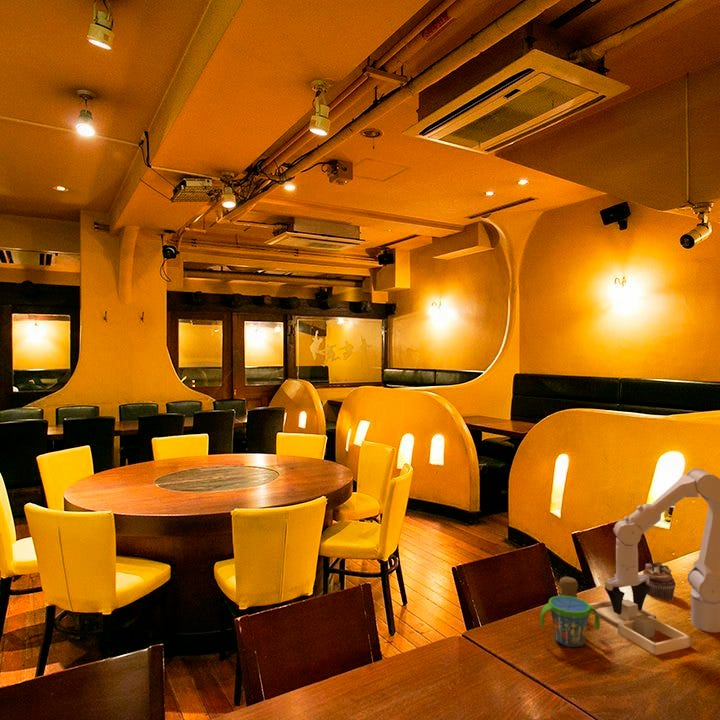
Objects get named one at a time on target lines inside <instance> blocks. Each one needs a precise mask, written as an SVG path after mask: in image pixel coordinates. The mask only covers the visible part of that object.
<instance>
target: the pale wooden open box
mask: <svg viewBox="0 0 720 720" xmlns="http://www.w3.org/2000/svg"><path fill="white" fill-rule="evenodd" d="M649 618H651V619H653V620H655V631H658V632H660V633H661V634H663V635H665V636H667V637H668V638H669V639H666V640H662V641H659V642H657V641H656V642H654V641H652V640H650V639H649V638H645V637H643V636H642V635H640V634H638V633H636V632H635V631H634V621H633V620H632V621H628V622H623V623H618V628H617V634H619V635H621V636H622V637H624V638H626V639H627V640H629V641H631V642H632V643H634V644H635V645H637V646H639V647H640V648H642V649H644V650H645V651H647V652H649V653H650V654H652V655H653V656H659V655H663V654H666V653H670V652H675V651H679V650H683V649H686V648H687V649H688V648H690V647H692V646H691V645H692V642H691V636H690V635H688V634H686V633H684V632H682V631H680V630H679V629H676V628H674V627H672V626H671V625H670V624H667V623H665V622H664V621H661V620H659V619H657V618H656V619H655V618H654V617H652V616H651V617H649ZM670 638H671V639H670Z"/></svg>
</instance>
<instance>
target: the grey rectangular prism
mask: <svg viewBox="0 0 720 720" xmlns="http://www.w3.org/2000/svg"><path fill="white" fill-rule="evenodd" d="M633 621H634V631H635V632H636V633H638V634H640V635H642V636H643V637H645V638H647V639H649V638H654V637H656V629H655V620H653V619H651V618H649V617H648V616H646V615H644V614H643V615H638V616H634V617H633Z"/></svg>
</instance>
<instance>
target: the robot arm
mask: <svg viewBox="0 0 720 720" xmlns="http://www.w3.org/2000/svg"><path fill="white" fill-rule="evenodd" d="M699 495H700V496H701V498H702V499H703V500H704V501H705V503H707V504H708V509H707V514H706V515H707V516H706V518H705V519H706V520H705V524H704V529H703V534H702V540H701V543H700V545H701V546H700V548H699V549H700V551H699V556H698V559H697V560H695V561H694V562H693V567H692V568H691V569H690V570H689V572H688V574H687V582H688V583H689V585H690V587H691V591H690V613H691V615H690V618H691V625H692V626H693V627H694V628H695V629H698V630H700V631H703V632H707V633H720V478H719V477H718V476H717V475H715V474H711V473H709V472H707V471H706V470H704V469H702V468H693V469H690V470H689V471H687V472H686V474H683V475H681V476H680V477H679V479H678V480H677V481H676V482H675V483H674V484H672V485H671V486H670V488H668V489H667V490H666V491H665V492H664V493H663V494H661V495H660V496H659V497H657V499H656V500H654V502H652V503H644V504H642V505H641V504H639V505H637V506H636V509H635V510H634V512H632V513H631V514H630V515H629V516H625V517H623V520H622V519H620V520H618V521H617V522H615V524H614V527H613V529H612V531H613V534H614V535H615V536H616V538H615V539H616V540H615V571H616V573H614V577H612V578H610V579H608V580H604V590H605V591H606V594H607V595H608V598H609V600H611V603H612V607H613V611H614V612H615V613H617V614H619V615H620V614H621V612H622V600H623V599H624V596H625V594H626V593H625V592H623V591H621V589H620V588H624V587H630V588H631V592H632V602H633V603H635V604H637V605H638V610H642V609H643V606H644V602H645V599H646V597H647V595H649V594H648V592H649V591H650V586H648V585H646V584H648V583H649V577H648V576H646V575H644V574H643V573H642V574H639V549H638V543H640V540H641V539H642V535H643V534H645V533H646V532H647V531H648V530H650V529H651V528H653V527H654V526H655V525H656V524H658V523H659V522H660V521H661V520H662V518H661V517H662V514H663V513H664V512H666V511H667V510H669V509H670V508H672V507H673V506H675V505H676V504H677V503H679V502H681V500H683V499H685V498H700V496H699Z"/></svg>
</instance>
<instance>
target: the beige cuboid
mask: <svg viewBox="0 0 720 720" xmlns="http://www.w3.org/2000/svg"><path fill="white" fill-rule="evenodd" d="M634 616H638V605H637V604H635V603H633V600H629V599H624V600H623V601H622V612H621V614H620V615H619V614H618V617H619V618H621V619H623V620H625V621H629V620H633V617H634Z"/></svg>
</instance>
